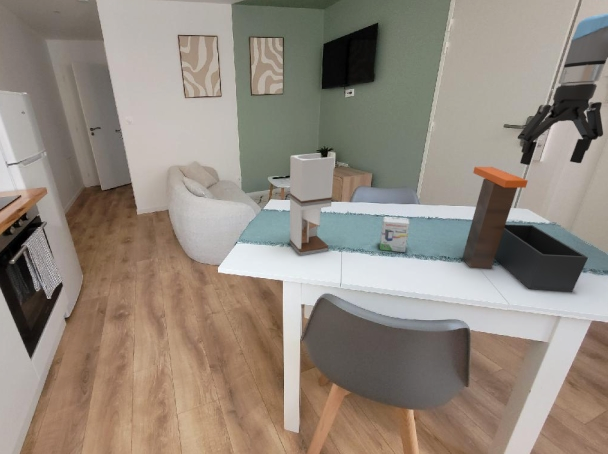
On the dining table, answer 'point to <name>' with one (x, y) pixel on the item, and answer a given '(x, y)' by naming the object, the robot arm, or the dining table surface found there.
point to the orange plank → (500, 177)
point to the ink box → (394, 234)
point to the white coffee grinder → (309, 200)
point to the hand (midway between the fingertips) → (549, 163)
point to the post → (488, 224)
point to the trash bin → (539, 259)
